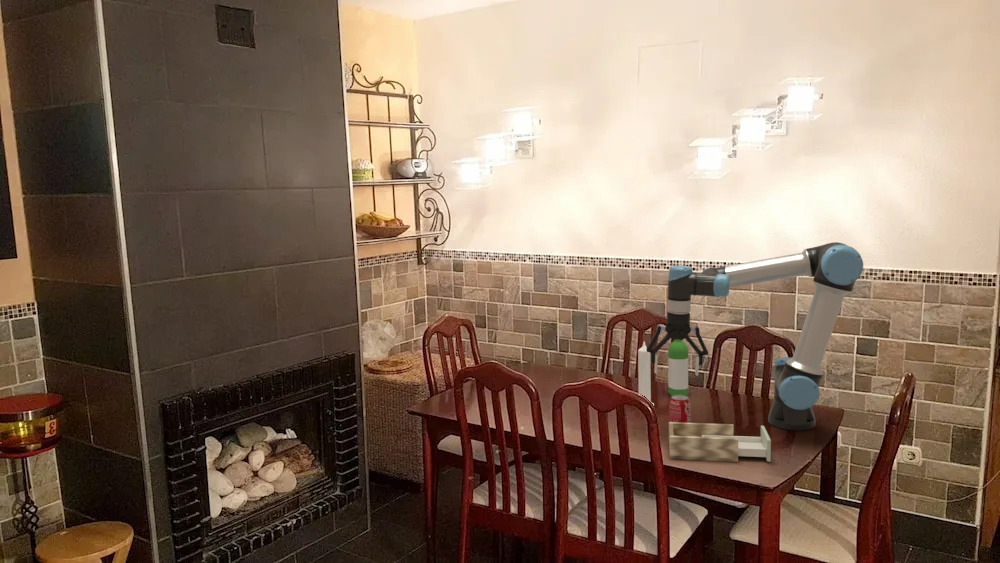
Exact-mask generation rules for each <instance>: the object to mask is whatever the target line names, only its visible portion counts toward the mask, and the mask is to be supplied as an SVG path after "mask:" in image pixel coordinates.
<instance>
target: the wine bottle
mask: <svg viewBox="0 0 1000 563" xmlns="http://www.w3.org/2000/svg"><path fill="white" fill-rule="evenodd" d="M688 348H689V347H688V345H687V343H685V342H684V341H683V340H679V339H676V340H673V341H672V342H671V343H670V344H669V345H668V350H667V352H668V353H667V354H668V357H667V362H668V363H667V366H668V368H667V371H668V372H667V382H668V383H667V385H668V386H667V388H668V390H667V391H668V395H670V396H673V395H686V396H688V394H689V349H688Z"/></svg>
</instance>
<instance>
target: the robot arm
mask: <svg viewBox="0 0 1000 563" xmlns="http://www.w3.org/2000/svg"><path fill="white" fill-rule="evenodd" d="M863 270H864V261H863V258H862V256H861V254H860V252H859V251H858V250H857V249H855V248H854V247H852V246H850V245H848V244H846V243H842V242H836V241H834V242H828V243H825V244H820V245H817V246H814V247H809V248H804V249H803V250H802V251H801V252H798V253H793V254H787V255H780V256H775V257H769V258H765V259H759V260H758V259H757V260H753V261H752V260H751V261H747V262H742V263H737V264H736V263H735V264H731V265H730V264H729V265H725V266H719V267H707V268H705V269H704V270H703V271H701V272H693V268H692V267H691V266H690V265H689V266H687V265H672V266H671V267H670V268H669V270H668V281H667V284H668V285H667V313H666V325H660V324H657V326H656V331H655V333H654V335H653V336H652V338H651V339H650V341H649V344H648V345H647V346H646V347H647V348H646V349H647V352H650V355H651V357H650V362H651V364H654V371H653V372H654V374H658V358H659V357H658V356H659V354H658V352H659V351H660V349H662V347H663V346H664V345H665V344H667V342H668V341H669V340H670V339H672V340H673V341H674V340H676V339H679V340H682V341H683V340H684V339H685V340H686V341H687V343H688V344H689V345H690V346H691V348H692V349H693V350H694V351H695V353H697V354H695V367H694V368H695V369H694V372H695V373H694V374H695V376H699V368H700V367H699V366H702V365H703V356H708V355H709V351H708V349H707V347H706V345H705V342H704V341H703V338H702V336H701V335H700V334H701V332H700V328H699V327H700V326H697V325H696V326H693V327H691V325H690V323H691V314H690V312H691V309H692V308H691V306H692V305H691V304H692V303H691V302H692V296H701V297H716V298H721V297H723V298H726V297H728V296H729V292H730V288H735V287H739V286H746V285H753V284H759V283H763V282H764V283H765V282H772V281H777V280H784V279H789V278H796V277H802V276H807V277H809V278H813V280H812V283H813V285H814V286H815V290H814V292H813V296H812V299H811V302H810V305H809V307H808V311H807V314H806V317H805V319H804V323H803V326H802V328H801V331H800V335H799V338H798V341H797V342H796V343H797V344H796V346H795V349H794V351H793V355H792V357H778V358H776V359H775V360H774V366H773V368H774V381H773V382H774V385H773V386H774V388H773V389H774V390H773V394H774V396H773V403H772V405H771V407H770V410H769V413H768V418H767V420H768V423H769V424H770V425H771V426H773V427H776V428H778V429H783V430H790V431H808V430H813V429H814V428H815V427H816V423H817V422H816V417H815V413H814V410H813V406H814V405H815V404H816V403H817V402H818V401H819V396H820V385H821V381H822V379H823V376H824V371H823V369H822V367H821V366H822V363H823V360H824V357H825V353H826V350H827V348H828V346H829V345H828V344H829V342H830V339H831V336H832V334H833V331H834V328H835V325H836V321H837V320H838V317H839V313H840V310H841V307H842V305H843V302H844V300H845V297H846V296H847V295H849V294H852V292H853V290H854V286H855V284H856V281H857V280H858V279H859V278H860V277H861V275H862V273H863ZM664 331H665V332H666V334H665V336H664V337H663V338H662V339H661V340H660V341H659V342H658V343H657V344H656V342H657V340H658V339H659V338H660V337H659V336H660V335H661V333H663V332H664ZM691 332H692V333H693V334H695V337H696V338H697V340H698V342H699V345H700V347H701V349H702V350H700V348H699V347H698V346H697V345H696V343H695V342H694V340H692V338H691V337H690V333H691ZM655 344H656V345H655ZM654 345H655V346H654Z"/></svg>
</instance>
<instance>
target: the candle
mask: <svg viewBox="0 0 1000 563" xmlns="http://www.w3.org/2000/svg"><path fill="white" fill-rule="evenodd" d="M646 344H647V343H646V341H643V342H642V346H641V347H640V348H639V349H637V356H638V357H637V358H638V360H637V361H638V362H637V363H638V364H637V368H638V371H637V374H638V377H637V378H638V380H637V382H638V390H637V391H638V393H639V394H641V395H643V396H645V397H646V398H647V399H648V400H649V401H650V402H651V403H652V404H653V406H654V407H655V403H654V402H652V400H651V399H652V398H651V392H652V391H651V389H652V388H651V353H650V352H647V349H646V348H647V347H648V346H647V345H646ZM639 394H638V395H639Z"/></svg>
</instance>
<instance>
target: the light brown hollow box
mask: <svg viewBox="0 0 1000 563" xmlns="http://www.w3.org/2000/svg"><path fill="white" fill-rule="evenodd" d="M702 435H723V436H734V424H733V423H732V424H731V423H708V422H707V423H705V422H704V423H703V422H702V423H701V422H691V423H681V422H668V446H669V447H668V450H669V451H668V452H669V459H670V460H686V461H687V460H690V461H707V462H708V461H709V462H731V463H733V462H734V463H738V462H739V456H738V438H719V437H702Z"/></svg>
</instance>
